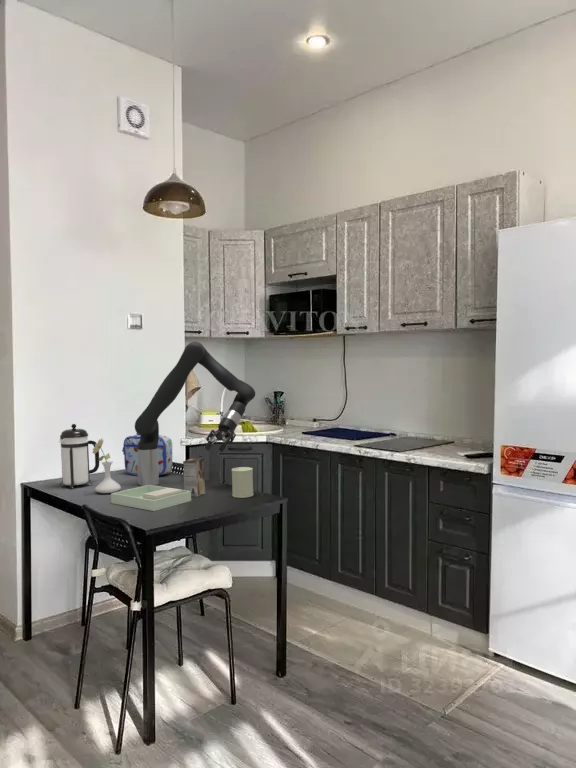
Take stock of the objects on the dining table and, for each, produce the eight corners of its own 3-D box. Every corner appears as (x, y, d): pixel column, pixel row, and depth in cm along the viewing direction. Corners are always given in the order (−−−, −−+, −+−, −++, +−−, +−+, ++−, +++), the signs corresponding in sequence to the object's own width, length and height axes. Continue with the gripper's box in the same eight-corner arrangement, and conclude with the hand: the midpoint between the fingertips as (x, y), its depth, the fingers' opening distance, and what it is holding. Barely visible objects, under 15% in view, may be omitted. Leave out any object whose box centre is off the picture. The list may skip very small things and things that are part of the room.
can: (233, 493, 274) (232, 466, 274) (254, 492, 274) (253, 465, 273) (230, 498, 265) (230, 469, 264) (252, 497, 265) (251, 469, 264)
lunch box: (119, 475, 325) (118, 433, 324) (131, 471, 335) (130, 430, 334) (164, 477, 315) (162, 434, 314) (175, 474, 324) (174, 432, 323)
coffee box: (191, 493, 275) (190, 457, 275) (205, 494, 274) (204, 457, 273) (184, 498, 266) (182, 461, 266) (198, 498, 265) (197, 461, 264)
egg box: (142, 506, 250) (142, 493, 249) (169, 499, 261) (168, 487, 261) (156, 508, 245) (155, 496, 245) (182, 501, 256) (182, 489, 256)
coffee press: (88, 488, 292) (86, 425, 291) (54, 489, 292) (52, 425, 291) (100, 481, 309) (98, 421, 308) (68, 482, 310) (66, 422, 308)
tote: (111, 505, 257) (111, 493, 257) (149, 496, 273) (148, 484, 273) (153, 513, 241) (153, 500, 241) (191, 503, 257) (190, 491, 257)
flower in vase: (108, 488, 291) (105, 435, 290) (126, 490, 286) (124, 436, 285) (86, 494, 280) (84, 439, 279) (105, 496, 274) (103, 440, 273)
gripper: (214, 416, 290) (197, 444, 281) (237, 417, 281) (220, 446, 272) (222, 426, 294) (206, 454, 286) (245, 427, 285) (229, 456, 277)
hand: (213, 450), depth 279 cm, fingers open, 8 cm apart
